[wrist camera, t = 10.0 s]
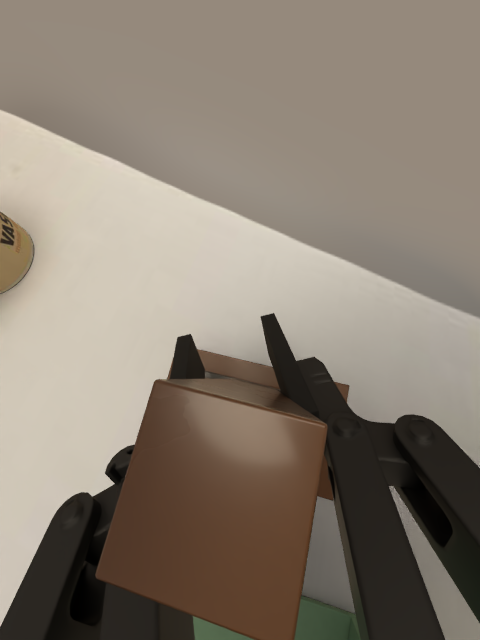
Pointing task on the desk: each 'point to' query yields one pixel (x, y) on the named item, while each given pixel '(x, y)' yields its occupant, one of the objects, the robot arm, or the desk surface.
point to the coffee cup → (13, 253)
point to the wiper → (219, 504)
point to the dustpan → (312, 625)
